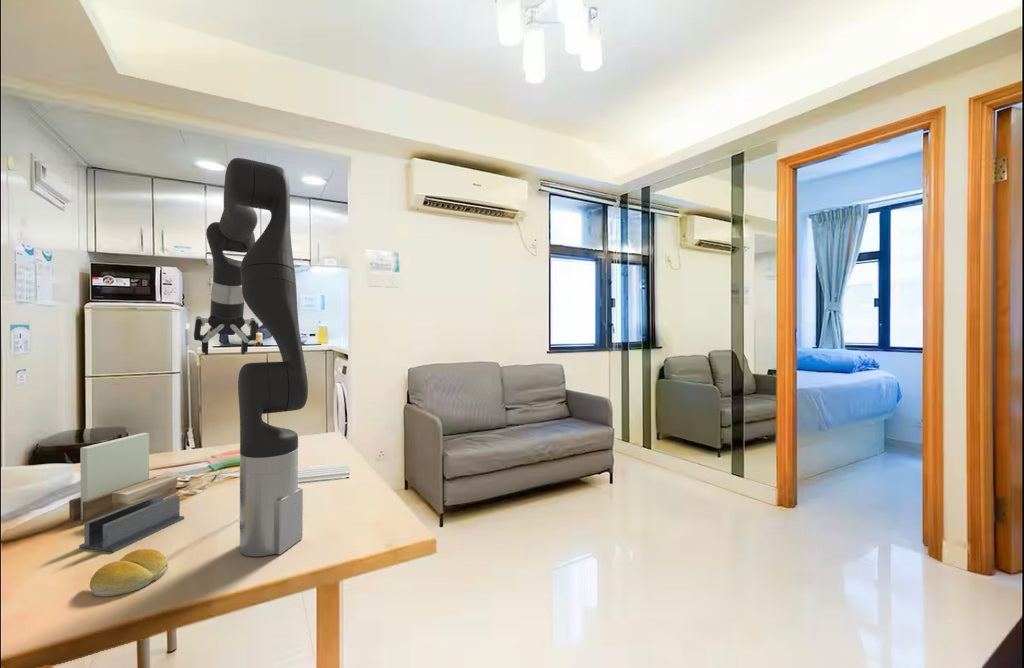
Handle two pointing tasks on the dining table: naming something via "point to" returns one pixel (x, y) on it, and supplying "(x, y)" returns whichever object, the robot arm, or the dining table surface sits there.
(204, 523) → the dining table surface
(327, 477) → the baseboard molding
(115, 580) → the bread roll
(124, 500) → the tan piece
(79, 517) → the walnut rack
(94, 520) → the grey stand
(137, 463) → the sage panel
